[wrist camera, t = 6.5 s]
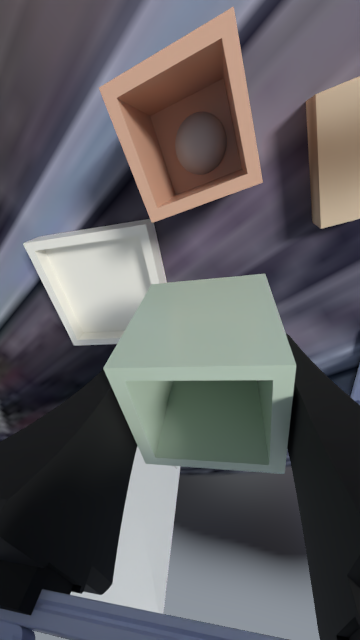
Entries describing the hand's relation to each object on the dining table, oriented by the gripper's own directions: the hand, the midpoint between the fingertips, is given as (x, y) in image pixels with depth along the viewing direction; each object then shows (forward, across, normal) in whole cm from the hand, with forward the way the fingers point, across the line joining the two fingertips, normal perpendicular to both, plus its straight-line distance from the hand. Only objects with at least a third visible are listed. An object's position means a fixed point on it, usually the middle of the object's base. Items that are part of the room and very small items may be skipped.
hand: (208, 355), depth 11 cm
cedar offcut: (+9, -7, -6) cm, 13 cm away
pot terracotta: (+9, 0, -8) cm, 12 cm away
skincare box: (+9, +10, +19) cm, 24 cm away
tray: (+9, +8, 0) cm, 12 cm away
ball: (+7, 0, -8) cm, 11 cm away
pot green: (+2, 0, 0) cm, 2 cm away
